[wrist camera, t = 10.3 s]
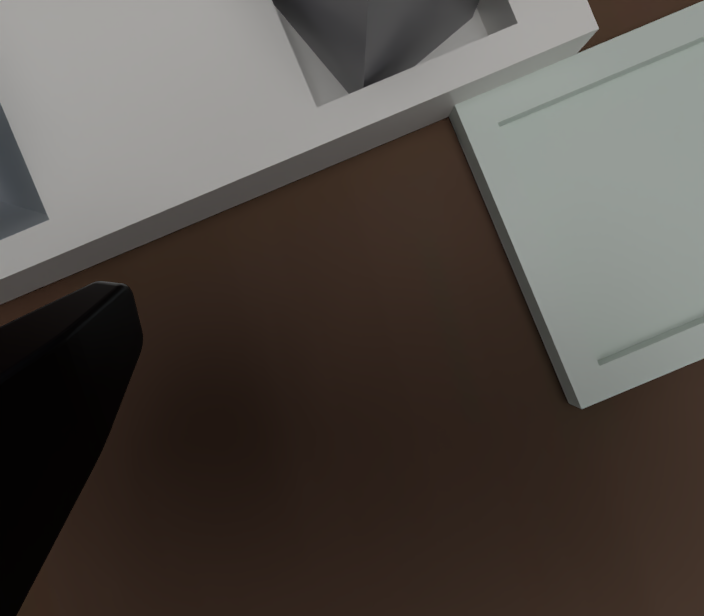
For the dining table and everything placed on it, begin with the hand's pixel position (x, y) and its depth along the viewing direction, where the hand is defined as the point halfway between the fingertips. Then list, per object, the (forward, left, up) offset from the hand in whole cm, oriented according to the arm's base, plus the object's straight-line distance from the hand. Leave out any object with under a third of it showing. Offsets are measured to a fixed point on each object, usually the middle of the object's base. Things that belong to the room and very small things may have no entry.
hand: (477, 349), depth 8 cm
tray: (+9, +1, -13) cm, 16 cm away
